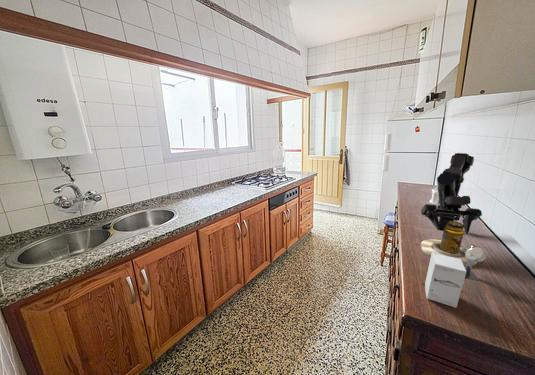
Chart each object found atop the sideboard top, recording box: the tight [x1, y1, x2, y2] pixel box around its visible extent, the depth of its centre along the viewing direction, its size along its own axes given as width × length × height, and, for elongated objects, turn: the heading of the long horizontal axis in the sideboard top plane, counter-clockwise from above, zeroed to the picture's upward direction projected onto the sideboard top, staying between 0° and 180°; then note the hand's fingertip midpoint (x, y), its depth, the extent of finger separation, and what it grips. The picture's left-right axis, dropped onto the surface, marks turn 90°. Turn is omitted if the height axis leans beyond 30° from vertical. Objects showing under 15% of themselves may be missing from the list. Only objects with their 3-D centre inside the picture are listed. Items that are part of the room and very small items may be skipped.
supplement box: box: [424, 253, 467, 309], centre depth 66 cm, size 7×7×13 cm
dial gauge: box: [462, 244, 487, 282], centre depth 76 cm, size 8×5×12 cm, turn 160°
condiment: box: [433, 220, 465, 256], centre depth 87 cm, size 7×8×12 cm
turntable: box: [420, 238, 478, 267], centre depth 89 cm, size 18×18×2 cm
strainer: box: [429, 188, 440, 208], centre depth 135 cm, size 7×7×15 cm
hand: (452, 231), depth 86 cm, fingers open, 9 cm apart
